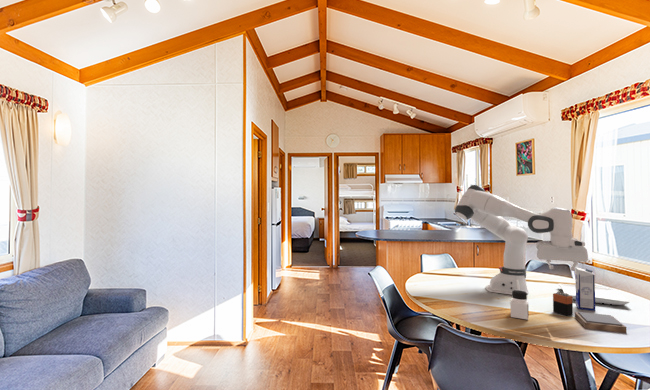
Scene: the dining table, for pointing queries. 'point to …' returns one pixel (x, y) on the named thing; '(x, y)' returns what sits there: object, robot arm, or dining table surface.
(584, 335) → the dining table surface
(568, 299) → the battery
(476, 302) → the dining table surface
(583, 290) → the milk carton
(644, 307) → the dining table surface
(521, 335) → the dining table surface
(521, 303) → the medicine bottle
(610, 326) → the wooden square tray
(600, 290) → the square plate
